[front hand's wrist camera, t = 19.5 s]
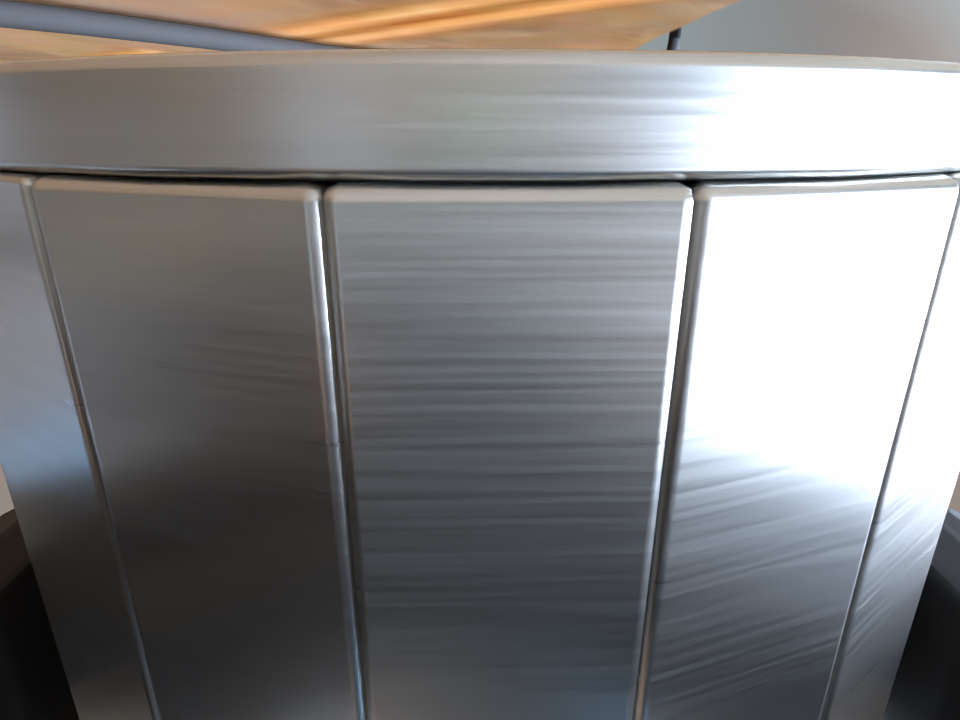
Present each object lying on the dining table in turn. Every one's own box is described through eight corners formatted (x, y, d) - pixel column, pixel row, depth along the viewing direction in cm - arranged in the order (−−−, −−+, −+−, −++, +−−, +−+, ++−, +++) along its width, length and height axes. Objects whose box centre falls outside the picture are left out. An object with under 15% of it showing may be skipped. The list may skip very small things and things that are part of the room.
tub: (1427, 82, 4) (978, 997, 8) (626, 111, 14) (593, 539, 18) (-1295, -50, 1) (86, 1556, 5) (79, 106, 11) (189, 632, 15)
